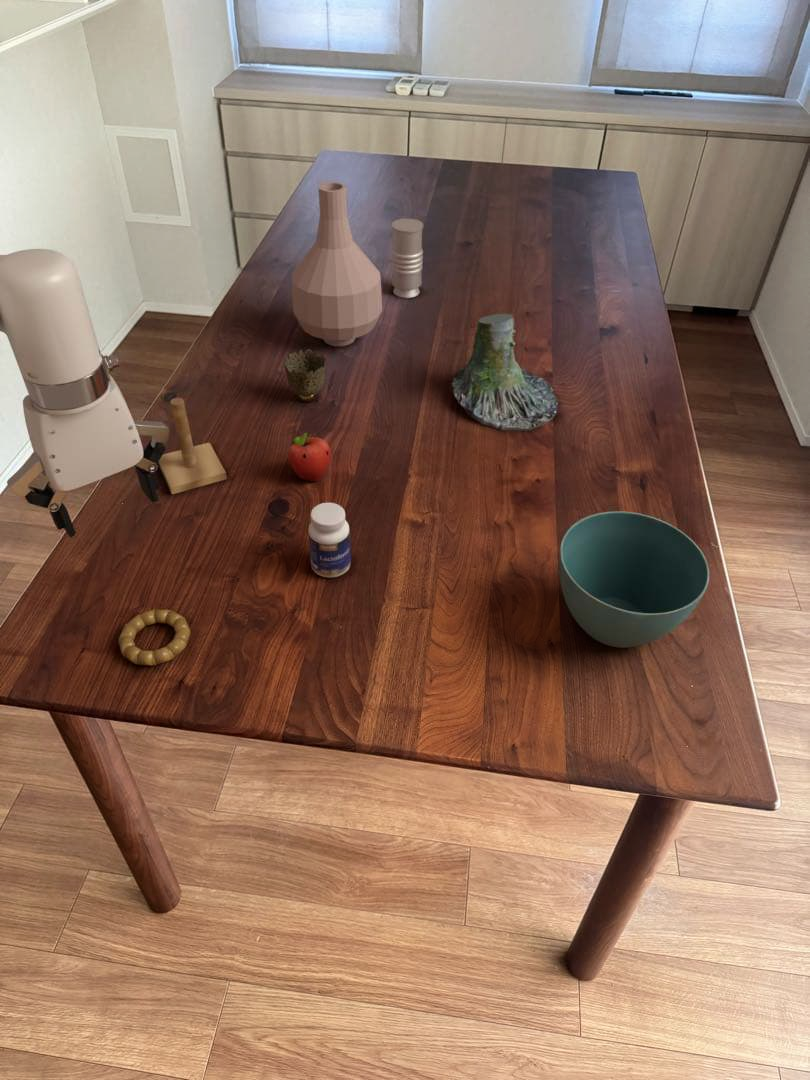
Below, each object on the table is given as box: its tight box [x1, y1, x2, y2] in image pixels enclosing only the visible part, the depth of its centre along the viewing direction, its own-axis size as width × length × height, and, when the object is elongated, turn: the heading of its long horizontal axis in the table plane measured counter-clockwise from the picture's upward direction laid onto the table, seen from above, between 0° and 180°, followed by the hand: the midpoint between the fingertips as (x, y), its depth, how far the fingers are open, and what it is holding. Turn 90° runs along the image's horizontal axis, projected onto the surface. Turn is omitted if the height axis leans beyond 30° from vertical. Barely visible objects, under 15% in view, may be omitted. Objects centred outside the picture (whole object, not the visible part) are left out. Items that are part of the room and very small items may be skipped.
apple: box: [287, 432, 332, 482], centre depth 125 cm, size 8×7×10 cm
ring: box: [118, 608, 191, 666], centre depth 103 cm, size 9×9×2 cm
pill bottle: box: [307, 502, 352, 579], centre depth 111 cm, size 6×6×10 cm
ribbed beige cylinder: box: [390, 218, 424, 299], centre depth 173 cm, size 7×7×15 cm
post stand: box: [157, 397, 228, 495], centre depth 125 cm, size 9×9×14 cm
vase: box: [291, 181, 383, 347], centre depth 152 cm, size 18×18×30 cm
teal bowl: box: [558, 510, 710, 649], centre depth 103 cm, size 18×18×12 cm
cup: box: [282, 349, 327, 403], centre depth 143 cm, size 8×7×8 cm
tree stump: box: [451, 313, 559, 431], centre depth 142 cm, size 18×20×18 cm
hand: (110, 512), depth 90 cm, fingers open, 9 cm apart
